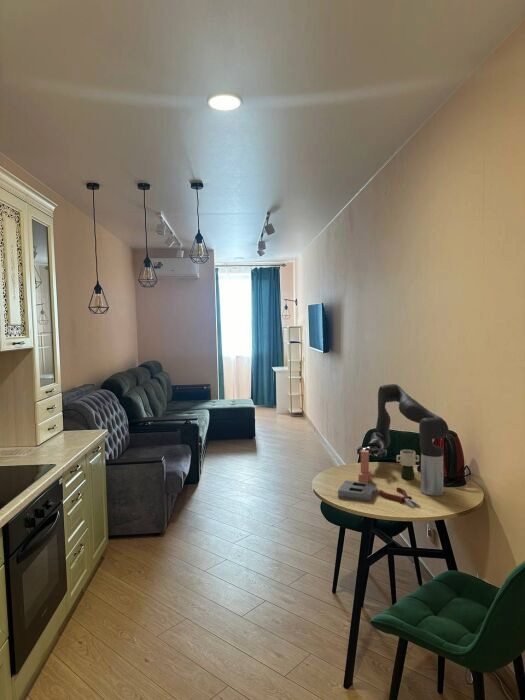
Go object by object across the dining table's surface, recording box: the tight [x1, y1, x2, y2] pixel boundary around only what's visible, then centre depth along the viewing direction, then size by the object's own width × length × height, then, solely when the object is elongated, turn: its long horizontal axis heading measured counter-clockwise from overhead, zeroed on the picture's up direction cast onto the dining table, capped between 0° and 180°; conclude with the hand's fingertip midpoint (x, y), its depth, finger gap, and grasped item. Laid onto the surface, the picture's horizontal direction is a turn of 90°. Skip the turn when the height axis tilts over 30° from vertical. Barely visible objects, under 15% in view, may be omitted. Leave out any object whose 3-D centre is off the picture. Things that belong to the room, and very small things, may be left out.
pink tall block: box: [358, 450, 372, 483], centre depth 218 cm, size 4×9×15 cm, turn 156°
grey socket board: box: [337, 479, 377, 502], centre depth 203 cm, size 14×14×3 cm
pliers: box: [378, 487, 422, 509], centre depth 195 cm, size 12×20×3 cm, turn 20°
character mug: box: [396, 449, 420, 480], centre depth 223 cm, size 11×7×13 cm, turn 87°
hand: (369, 455), depth 227 cm, fingers open, 8 cm apart
